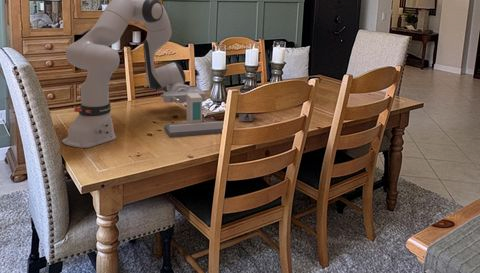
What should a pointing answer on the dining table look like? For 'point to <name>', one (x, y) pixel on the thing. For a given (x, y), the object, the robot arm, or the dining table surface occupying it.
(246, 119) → the coffee box
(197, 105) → the carton
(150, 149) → the dining table surface
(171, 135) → the shelf
